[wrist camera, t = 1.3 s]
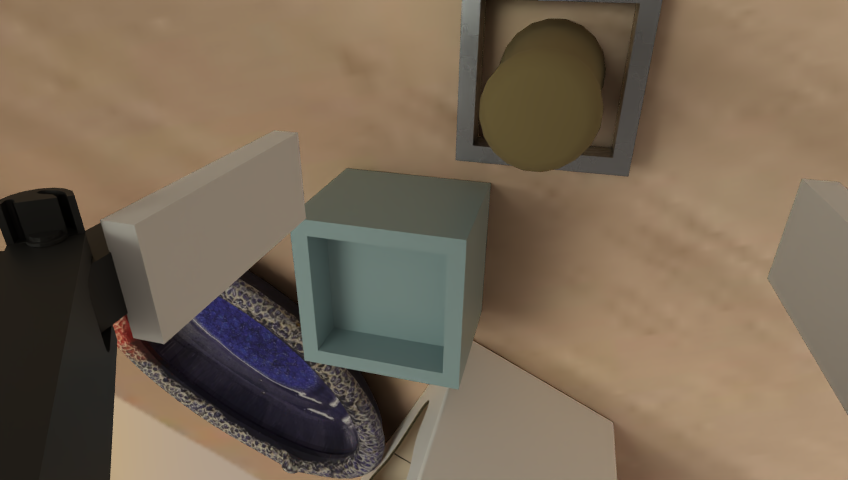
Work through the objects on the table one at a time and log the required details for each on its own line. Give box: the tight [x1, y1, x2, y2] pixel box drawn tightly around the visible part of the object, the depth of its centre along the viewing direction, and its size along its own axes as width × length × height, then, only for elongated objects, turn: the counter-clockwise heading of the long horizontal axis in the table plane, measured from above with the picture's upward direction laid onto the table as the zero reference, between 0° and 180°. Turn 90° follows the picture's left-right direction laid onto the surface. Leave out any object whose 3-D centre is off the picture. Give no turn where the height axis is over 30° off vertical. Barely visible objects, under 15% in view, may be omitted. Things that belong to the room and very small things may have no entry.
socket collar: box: [456, 0, 662, 176], centre depth 30 cm, size 10×10×2 cm
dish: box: [113, 270, 385, 478], centre depth 45 cm, size 16×31×5 cm, turn 53°
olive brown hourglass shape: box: [479, 19, 606, 172], centre depth 27 cm, size 6×6×11 cm
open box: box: [290, 168, 491, 390], centre depth 35 cm, size 10×10×8 cm
